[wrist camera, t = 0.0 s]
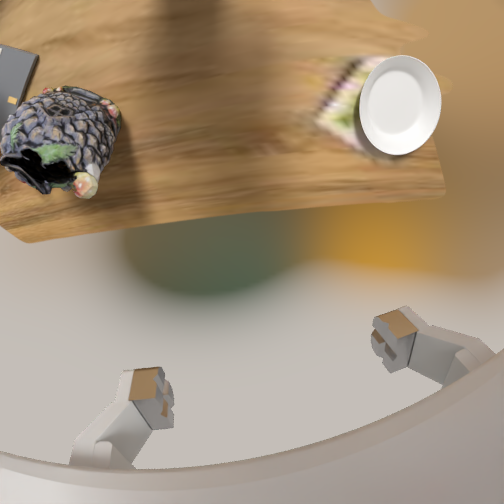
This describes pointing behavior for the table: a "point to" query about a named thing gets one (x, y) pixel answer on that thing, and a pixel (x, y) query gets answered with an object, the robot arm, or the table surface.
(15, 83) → the lock base
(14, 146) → the pineapple fairy house
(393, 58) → the white plate
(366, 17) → the table surface
